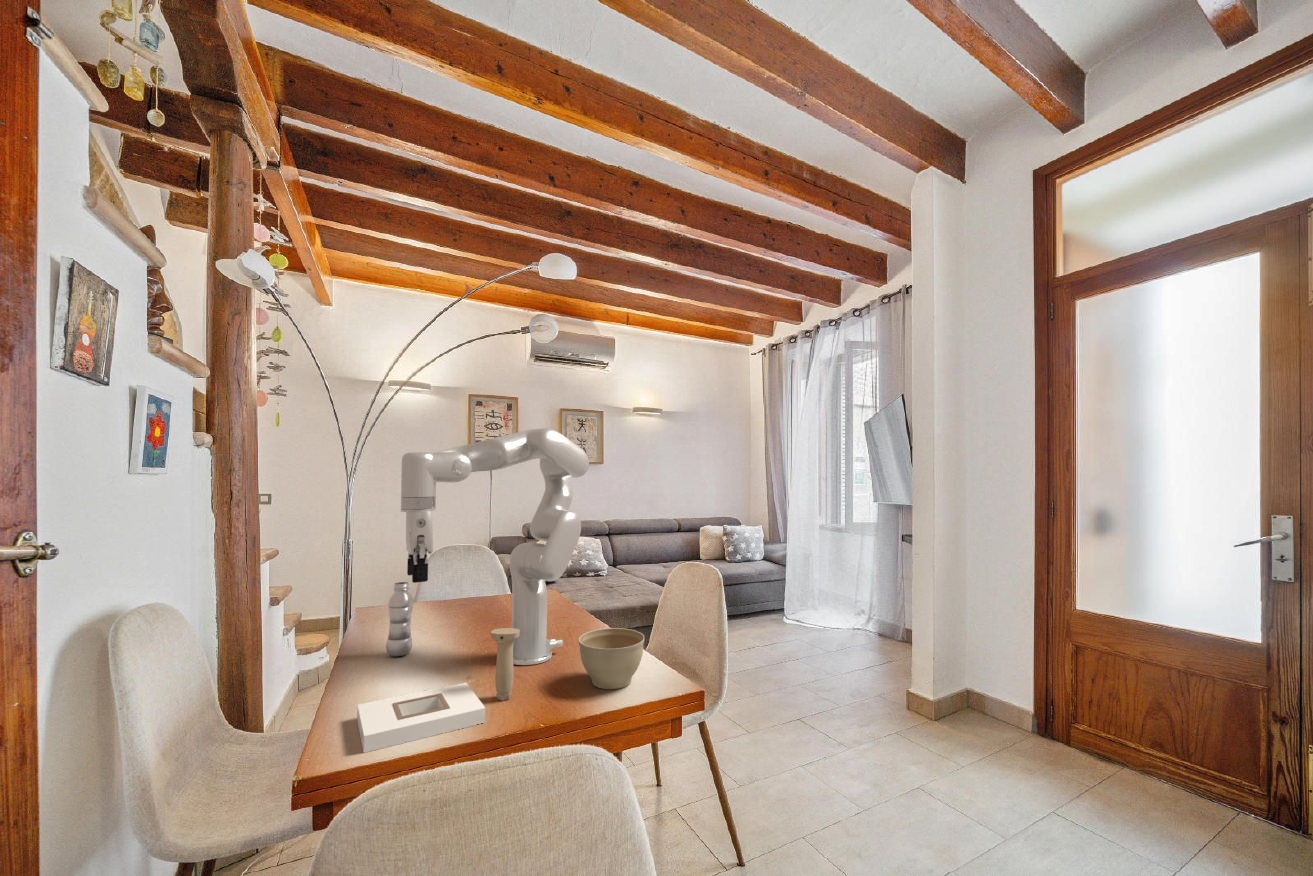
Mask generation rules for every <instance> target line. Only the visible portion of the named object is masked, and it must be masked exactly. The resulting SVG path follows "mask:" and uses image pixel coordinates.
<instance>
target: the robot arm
mask: <svg viewBox="0 0 1313 876" xmlns="http://www.w3.org/2000/svg"><path fill="white" fill-rule="evenodd" d="M537 459H539V469H540V471H541V472H540V473H541V474H542V476H543V480H544V484H545V485H544V487H545V489H544V492H543V495H542V498H541V500H540V502H539V504H538V507H537V509H536V511H535V513H534V515H533V517H532V520H531V521H530V525H529V532H530V535H531V536H532V538H534V539H535V540H538V541H542V542H545V544H544V543H540V542H539V543H537V542H524V543H520V544H518V545H517V546H515V547H514V548H513V550H512V551H511V553H510V555H509V556H510V557H509V564H508V565H509V570H510V577H511V584H512V586H511V587H512V588H511V589H512V592H511V594H512V595H511V596H512V597H511V599H512V600H511V601H512V602H511V604H512V605H511V628H515V629H519V630H520V635H519V637H518V638H517V639H515V640H514V641H513V665H514V666H531V665H538V664H542V663H545V662H547V661H549V660H550V659H551V658H552V656H553V651H552V650H553V649H554V648H561V647H563V646H564V641H563V639H555V638H551V639H548V638H547V632H548V631H547V629H548V628H547V626H548V624H547V619H548V589H547V584H546V582H554V581H557V580H558V579H560V578H561V577H562V576H563V575H564V573H565V572H566V570H567V568H568V566H569V564H570V561H571V558H572V557H573V554H574V552H575V549H576V546H577V544H578V543H579V539H580V536H581V532H582V524H581V522H582V521H581V519H580V517H579V515H578V514H577V513H576V512H575V511H573V510H570V506H571V504H572V501H573V496H574V492H573V487H572V485H571V482H570V479H575V478H576V479H577V478H580V477H583V476H584V475H585V474H586V473H587V472H588V470H589V466H590V460H589V457H588V455H587V453H586V452H585V450H584V449H582V448H581V447H580V446H579V445H577V444H576V443H574V442H573V441H571V439H569V438H567V436H566V435H565V436H564V435H563V434H562V433H560V432H559V431H557V430H555V429H553V428H550V427H549V428H548V427H544V428H531V429H530V428H529V429H525V430H521V431H517V432H513V433H510V434H505V435H501V436H497V437H493V438H488V439H485V440H481V441H477V442H473V443H470V444H469V443H468V444H465V445H459V446H456V447H455V446H454V447H451V448H447V449H443V450H439V451H435V452H423V451H421V452H420V451H419V452H418V451H417V452H415V451H413V452H411V451H410V452H406V453H404V454H403V455H402V456H401V477H400V479H401V480H400V481H401V482H400V483H401V487H400V488H401V491H400V494H401V495H400V512H401V513H406V514H405V515H406V516H405V546H406V547H405V548H406V551H407V552H408V558H407V565H406V566H407V573H406V574H407V576H411V580H412V581H411V582H412V583H413V584H415V583H417V584H418V583H425V582H426V583H427V582H428V580H429V576H428V574H429V563H428V554H432V553H433V552H434V543H433V542H434V541H433V537H434V536H433V534H434V533H433V531H434V528H433V513H432V512H433V511H436V509H437V506H436V504H437V502H436V501H437V498H436V497H437V496H436V495H437V483H460V482H462V481H464V480H466V479H467V478H468V477H469V476H470V475H471V473H475V472H476V473H478V472H490V471H491V472H492V471H496V470H502V469H505V468H509V467H512V466H514V465H518V464H521V463H524V462H525V463H526V462H528V461H532V460H537Z"/></svg>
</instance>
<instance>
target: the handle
mask: <svg viewBox="0 0 1313 876" xmlns="http://www.w3.org/2000/svg"><path fill="white" fill-rule="evenodd" d="M519 635H520V630H519V629H515V628H512V627H502V628H500V627H499V628H494V629H492V630H491V631H490V638H491V640H494V641H495V642H496V643H497V651H496V663H495V664H496V665H495V677H494V678H495V690H496V692H497V693H496V699H497V700H499V701H501V700H503V701H508V700H510V699H511V697H512V695H513V685H514V677H515V676H514V664H513V641H514V640H515V639H517V638H518V637H519Z"/></svg>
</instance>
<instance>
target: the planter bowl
mask: <svg viewBox="0 0 1313 876" xmlns="http://www.w3.org/2000/svg"><path fill="white" fill-rule="evenodd" d="M578 644H579V654H580V655H579V656H580V660H581V662H582V665H583V667H584V670H585V671H586V673H587V674H588V676H589V677H590V679H591V682H592V683H591V684H592V685H593V686H594V687H597V688H599V689H603V690H617V689H623V688H625V687H627V686H629V685H630V684H631V683H632V678H633V676H634V675H635V673H636V672H637V670H638V668H639V666H640V664H641V660H642V658H643V653H644V644H645V635H644V634H643V633H642V632H639V631H637V630H635V629H630V628H629V629H628V628H619V627H615V628H614V627H610V628H600V629H594V630H591V631H587V632H585V633H583V634H582V635H580V636H579V637H578Z"/></svg>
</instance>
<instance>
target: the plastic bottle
mask: <svg viewBox="0 0 1313 876" xmlns="http://www.w3.org/2000/svg"><path fill="white" fill-rule="evenodd" d="M409 585H410V583H409V581H407V582H406V581H400V582H399V581H398V582H395V583H394V584H393V587H394V588H393V591H394V592H393V594H392V595H391V597H390V598H389V599H388V602H387V606H388V615H389V621H388V622H389V629H388V636H387V641H386V645H385V650H386V651H385V652H386V654H387V655H388V656H389V657H402V656H405V655H407V654H410V652H411V650H412V648H413V641H412V640H413V638H412V633H411V632H412V630H411V629H412V628H411V620H412V613H413V609H414V608H413V607H414V601H415V600H414V598H413V596H412V594H411V593H410V592H409V590H410V588H409V587H410V586H409Z"/></svg>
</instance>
